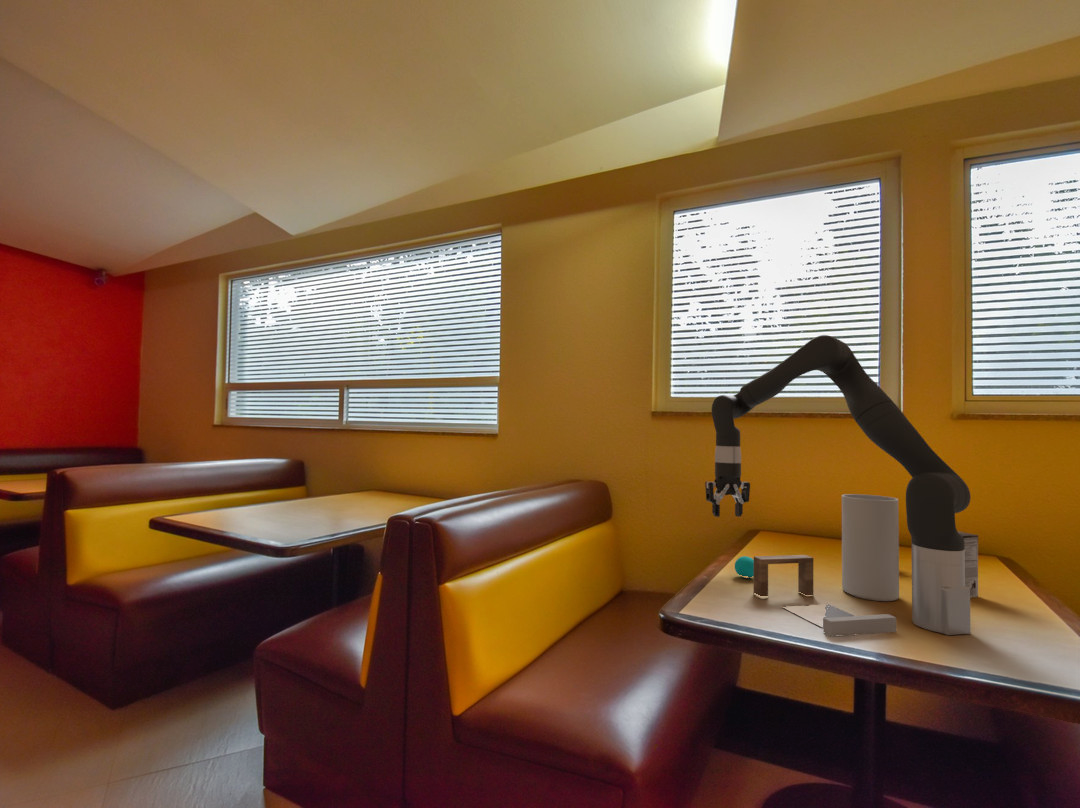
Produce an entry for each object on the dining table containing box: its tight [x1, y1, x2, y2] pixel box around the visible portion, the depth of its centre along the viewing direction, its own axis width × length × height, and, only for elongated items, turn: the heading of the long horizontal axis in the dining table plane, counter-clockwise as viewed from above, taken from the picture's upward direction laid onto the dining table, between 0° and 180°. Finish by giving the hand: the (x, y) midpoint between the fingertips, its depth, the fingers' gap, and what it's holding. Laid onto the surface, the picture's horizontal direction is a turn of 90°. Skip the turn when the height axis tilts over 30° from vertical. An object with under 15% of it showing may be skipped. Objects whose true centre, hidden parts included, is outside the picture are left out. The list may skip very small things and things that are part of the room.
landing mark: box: [824, 603, 855, 618], centre depth 119 cm, size 13×13×1 cm
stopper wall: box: [822, 613, 897, 637], centre depth 109 cm, size 2×16×3 cm, turn 102°
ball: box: [734, 555, 754, 578], centre depth 148 cm, size 6×6×6 cm
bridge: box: [753, 554, 814, 597], centre depth 133 cm, size 3×15×10 cm, turn 102°
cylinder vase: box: [841, 493, 900, 602], centre depth 136 cm, size 12×12×25 cm
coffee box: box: [957, 530, 979, 599], centre depth 139 cm, size 9×6×16 cm
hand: (727, 516), depth 158 cm, fingers open, 6 cm apart
